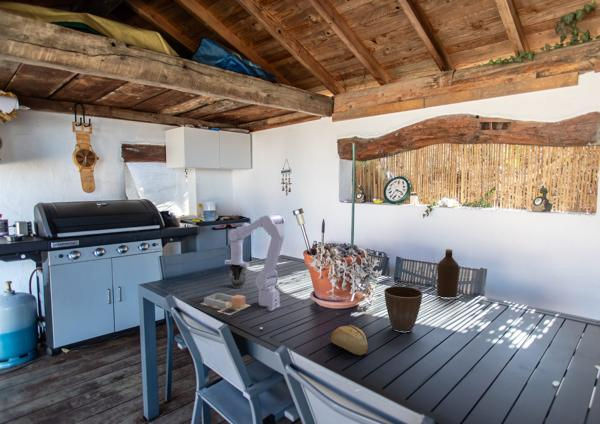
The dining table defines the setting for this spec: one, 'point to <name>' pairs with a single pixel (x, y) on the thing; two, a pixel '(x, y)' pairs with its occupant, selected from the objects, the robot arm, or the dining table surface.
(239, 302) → the terracotta block
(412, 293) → the plant pot
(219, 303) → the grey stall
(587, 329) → the dining table surface
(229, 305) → the birch deck
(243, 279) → the mortar and pestle
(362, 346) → the bread roll
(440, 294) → the olive oil
